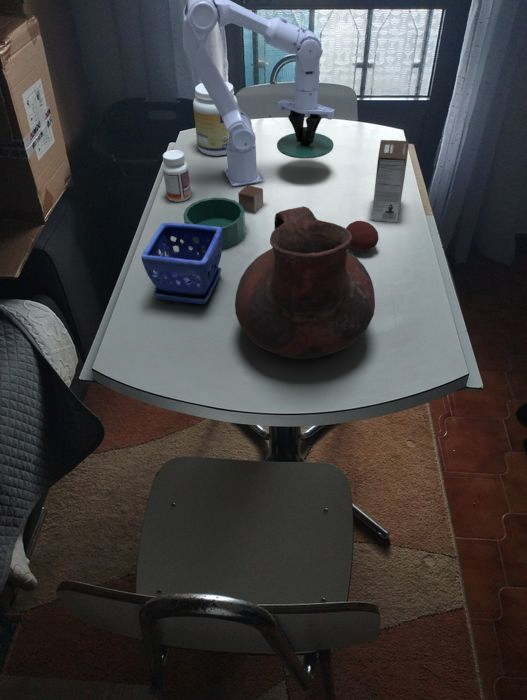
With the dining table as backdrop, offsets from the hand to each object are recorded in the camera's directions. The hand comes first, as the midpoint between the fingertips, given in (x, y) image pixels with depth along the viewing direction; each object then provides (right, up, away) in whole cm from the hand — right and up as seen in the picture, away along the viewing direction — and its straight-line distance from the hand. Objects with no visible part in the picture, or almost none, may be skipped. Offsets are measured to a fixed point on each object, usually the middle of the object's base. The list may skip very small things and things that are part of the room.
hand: (305, 141), depth 154 cm
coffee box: (+19, -21, -10) cm, 29 cm away
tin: (-22, -26, -15) cm, 37 cm away
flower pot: (-26, -41, -30) cm, 57 cm away
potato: (+11, -31, -20) cm, 38 cm away
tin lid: (0, -1, +1) cm, 1 cm away
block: (-14, -18, -6) cm, 24 cm away
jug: (-3, -50, -40) cm, 65 cm away
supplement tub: (-24, +5, +18) cm, 30 cm away
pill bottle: (-32, -15, -1) cm, 35 cm away
